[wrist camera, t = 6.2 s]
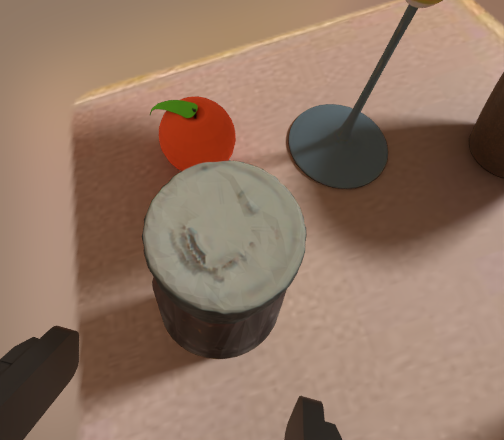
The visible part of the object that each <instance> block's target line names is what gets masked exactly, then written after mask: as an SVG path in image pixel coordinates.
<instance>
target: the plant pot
mask: <svg viewBox="0 0 504 440" xmlns="http://www.w3.org/2000/svg"><path fill="white" fill-rule="evenodd" d="M469 146H470V150H471V152H472V155H473V156H474V158H475V159H476V161H477V162H478V163H479V164H480V165H481V166H482V167H483V168H485V169H486V170H487V171H489V172H491V173H492V174H494V175H496V176H499V177H502V178H504V72H503V74H502V76H501V77H500V79H499V81H498V82H497V84H496V86H495V87H494V89H493V91H492V93H491V95H490V96H489V98H488V100H487V102H486V104H485V106H484V108H483V109H482V111H481V113H480V115H479V118H478V120H477V122H476V124H475V126H474V128H473V131H472V133H471V135H470V139H469Z"/></svg>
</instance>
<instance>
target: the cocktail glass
mask: <svg viewBox="0 0 504 440" xmlns="http://www.w3.org/2000/svg"><path fill="white" fill-rule="evenodd" d="M441 1H443V0H406V2H407V3H408V4H409V5H408V7H407V9H406V11H405V13H404V15H403V17H402V19H401V21H400V23H399V25H398V26H397V28H396V30H395V32H394V34H393V36H392V38H391V40H390V42H389V44H388V45H387V47H386V49H385V51H384V53H383V55H382V57H381V59H380V60H379V62H378V64H377V66H376V68H375V70H374V71H373V73H372V75H371V77H370V79H369V81H368V83H367V84H366V86H365V88H364V90H363V92H362V93H361V95H360V97H359V99H358V101H357V102H356V104H355V106H354V108H353V109H352V108H350V107H346V106H342V105H335V104H326V105H319V106H316V107H313V108H310V109H308V110H306V111H305V112H303V113H302V114H301V115H300V116H299V117H298V118H297V119H296V120H295V122H294V123H293V125H292V127H291V130H290V134H289V147H290V151H291V154H292V157H293V158H294V160H295V162H296V164H297V165H298V166H299V167H300V169H301V170H302V171H303V172H305V173H306V174H307V175H308V176H309V177H311V178H312V179H314V180H315V181H318V182H320V183H322V184H324V185H327V186H330V187H335V188H344V189H349V188H357V187H360V186H364V185H366V184H368V183H370V182H371V181H373V180H374V179H376V178H377V177H378V176H379V175H380V173H381V172H382V171H383V169H384V167H385V165H386V162H387V157H388V148H387V143H386V140H385V138H384V135H383V133H382V132H381V130H380V129H379V127H378V126H377V125H376V124H375V123H374V122H373V121H372V120H371V119H370V118H368V117H367V116H366V115H364V114H363V113H361V110H362V108H363V106H364V105H365V103H366V101H367V99H368V97H369V95H370V93H371V92H372V90H373V88H374V86H375V84H376V82H377V80H378V79H379V77H380V75H381V73H382V71H383V70H384V68H385V66H386V64H387V62H388V61H389V59H390V57H391V55H392V53H393V52H394V50H395V48H396V46H397V45H398V43H399V41H400V39H401V37H402V36H403V34H404V32H405V30H406V29H407V27H408V25H409V23H410V22H411V20H412V18H413V16H414V15H415V13H416V11H417V9H418V8H426V7H430V6H433V5H435V4H437V3H439V2H441Z"/></svg>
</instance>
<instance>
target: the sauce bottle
mask: <svg viewBox="0 0 504 440" xmlns="http://www.w3.org/2000/svg"><path fill="white" fill-rule="evenodd" d="M142 240H143V244H144V254H145V258H146V262H147V266H148V268H149V270H150V272H151V273H152V275H153V277H154V278H153V281H152V285H153V290H154V293H155V297H156V300H157V303H158V306H159V310H160V313H161V316H162V319H163V322H164V325H165V327H166V329H167V331H168V333H169V334H170V335H171V337H172V338H173V339H174V340H175V341H176V342H177V343H178V344H179V345H180V346H181V347H183V348H184V349H186V350H187V351H189V352H191V353H193V354H196V355H198V356H202V357H206V358H212V359H226V358H232V357H237V356H240V355H242V354H245V353H247V352H249V351H251V350H252V349H254V348H255V347H257V346H258V345H259V344H261V343H262V342H263V341H264V340H265V339H266V337H267V336H268V335H269V334H270V332H271V330H272V329H273V327H274V325H275V323H276V320H277V317H278V314H279V311H280V308H281V305H282V302H283V299H284V296H285V293H286V290H287V288H288V287H289V286H290V284H291V283H292V281H293V280H294V278H295V276H296V274H297V272H298V270H299V267H300V265H301V263H302V260H303V257H304V253H305V241H306V227H305V224H304V218H303V215H302V212H301V209H300V207H299V205H298V203H297V202H296V200H295V198H294V197H293V195H292V194H291V193H290V191H289V190H288V189H287V188H286V187H285V186H284V185H282V184H281V183H280V182H279V180H278V179H277V178H276V177H275V176H273V175H271V174H269V173H267V172H266V171H264V170H263V169H261V168H258V167H256V166H253V165H250V164H247V163H243V162H238V161H220V162H205V163H200V164H197V165H194V166H192V167H189V168H187V169H185V170H183V171H182V172H180V173H178V174H177V175H175V176H174V177H173V178H172V179H171V180H170V181H169V182H168V183H167V184H166V185H165V186H163V187H162V188H161V190H160V191H159V193H158V194H157V195H156V197H155V198H154V199H153V200H152V202H151V204H150V206H149V209H148V212H147V214H146V216H145V218H144V228H143V234H142Z"/></svg>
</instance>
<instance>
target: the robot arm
mask: <svg viewBox="0 0 504 440" xmlns="http://www.w3.org/2000/svg"><path fill="white" fill-rule="evenodd" d="M78 362H79V333H78V332H77V331H74V330H71V329H67V328H63V327H60V326H54V327H52V328H51V329H50V330H49V331H48V332H46V333H45V334H44V335H43V336H42V337H41V338H40V339H38V338H35V337H32V338H30V339H28V340H26V341H25V342H23V343H21V344H19V345H17V346H15V347H14V348H12V349H11V350H10V351H9V352H8V353H7V354H6V355H5V356H3V357H2V358H1V359H0V440H23V439H24V438H25V437H26V436H27V434H28V433H29V432H30V431H31V429H32V428H33V427H34V426H35V424H36V423H37V422H38V420H39V419H40V418H41V417H42V416H43V414H44V413H45V412H46V410H47V409H48V408H49V407H50V405H51V404H52V403H53V402H54V400H55V399H56V398H57V397H58V396H59V394H60V393H61V392H62V391H63V389H64V388H65V387H66V385H67V384H68V383H69V382H70V380H71V379H72V377H73V376H74V374H75V372H76V369H77V367H78ZM284 440H342V438H341V436H340V434H339V432H338V430H337V427H336V425H335V424H332V423H329V422H325V420H324V409H323V404H322V402H321V401H317V400H314V399H310V398H307V397H303V396H299V398H298V400H297V402H296V405H295V407H294V409H293V412H292V414H291V417H290V419H289V421H288V424H287V427H286V432H285V439H284Z"/></svg>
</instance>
